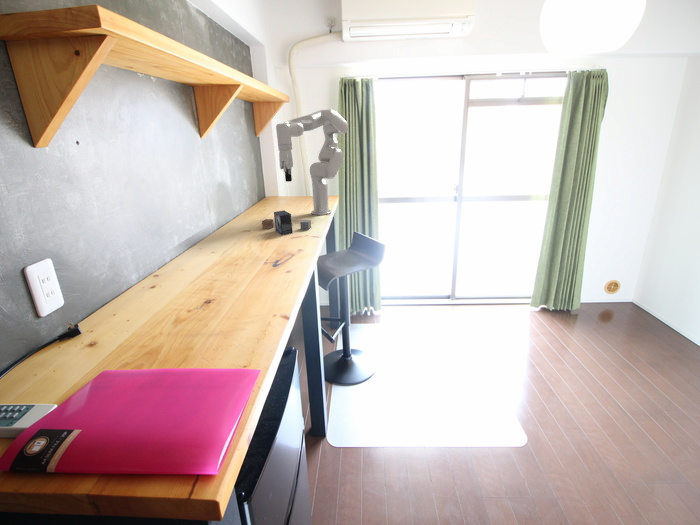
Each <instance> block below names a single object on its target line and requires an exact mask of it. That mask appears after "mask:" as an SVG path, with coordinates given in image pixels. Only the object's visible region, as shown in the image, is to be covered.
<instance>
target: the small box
mask: <svg viewBox="0 0 700 525" xmlns="http://www.w3.org/2000/svg"><path fill="white" fill-rule="evenodd" d="M273 216H274V219H273V220H274V227H275V231H276V232H277V233H279V234H280V235H282V236H283V234H284V235H288V234H289V233H290V234H293V232H294V231H293V224H292V214H291V213H290V212H288V211H286V210H284V209H283V210H278V211H273ZM290 234H289V235H290Z"/></svg>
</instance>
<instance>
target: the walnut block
mask: <svg viewBox="0 0 700 525" xmlns="http://www.w3.org/2000/svg"><path fill="white" fill-rule="evenodd" d="M261 225H262V229H263V230H272V229H273V228H274V219H272V218H271V219H269V218H268V219H267V218H266V219H262V221H261Z"/></svg>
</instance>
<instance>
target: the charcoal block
mask: <svg viewBox="0 0 700 525" xmlns="http://www.w3.org/2000/svg"><path fill="white" fill-rule="evenodd" d="M299 225H300V231H310V230H311V229H312V220H311V219H302V220H300V222H299ZM310 228H311V229H310ZM309 229H310V230H309Z"/></svg>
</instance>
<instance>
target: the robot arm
mask: <svg viewBox="0 0 700 525" xmlns="http://www.w3.org/2000/svg"><path fill="white" fill-rule="evenodd" d="M320 127H322V130H323V134H324V143H323V145H322V147H321V149H320V151H319V154H318V161H317V162H313V163H312V164H311V165H310V166H309V175H310V179H311V185H312V201H313V210H311V214H312V215H314V216H326V215H330V214H331V213H332V210H330V209H329V208H330V207H329V191H328V182H327V180H332V179H334V178H335V177H336V176H337V174H338V172H339V170H340V167H341V165H342V164H343V160H344V153H343V151H342V149H340V148H338V145H339V142H338V140H337V137H336V135H345V134H346V133H347V132H348V131H349V125H348V122H347V120H345V118H344V117H343V116H342V115H341V114H339V112H337V111H336V110H333V109H321V110H316V111H314V112H312V113H310V114H307V115H303V116H300V117H297V118H293V119H289V120H287V121H284V122H282V123H277V124H276V126H275V129H276V138H277V147H278V151H279V153H278V158H279V169H280V170H283V172H284V177H285V178H284V180H285V182H289V183H290V182H292V180H293V178H292V168H293V167H294V160H293V152H292V150H293V142H292V141H293V140H292V138H293V137H294V138H295V137H296V138H297V137H301V136H302V135H304V132H308V131H309V132H310V131H313V130H315V129H317V128H320ZM326 179H327V180H326Z"/></svg>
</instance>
